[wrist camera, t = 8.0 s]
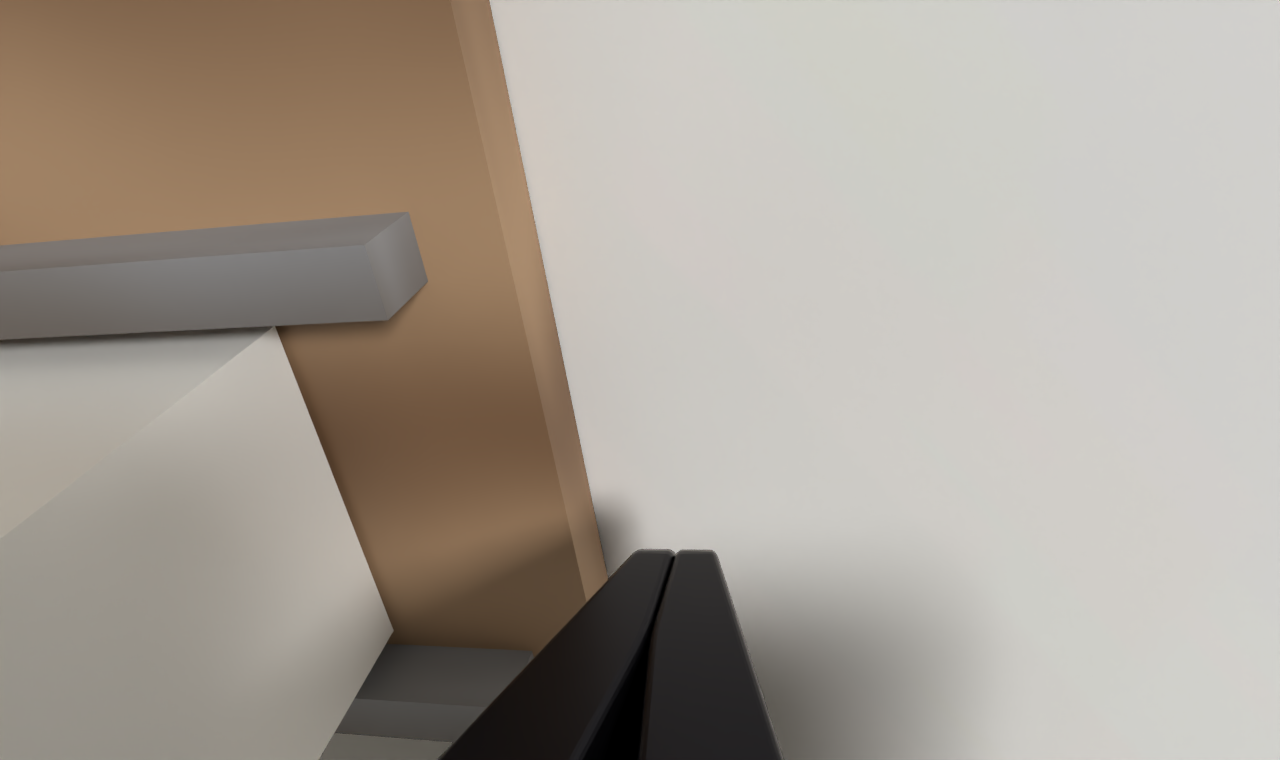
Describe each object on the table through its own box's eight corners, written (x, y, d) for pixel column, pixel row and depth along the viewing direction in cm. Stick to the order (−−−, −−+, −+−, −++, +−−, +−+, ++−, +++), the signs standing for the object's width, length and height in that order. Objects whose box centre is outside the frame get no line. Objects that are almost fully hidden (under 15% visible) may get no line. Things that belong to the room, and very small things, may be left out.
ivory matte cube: (393, 630, 12) (162, 1029, 8) (62, 615, 13) (-291, 948, 9) (275, 325, 10) (-156, 658, 5) (-114, 345, 11) (-704, 624, 7)
